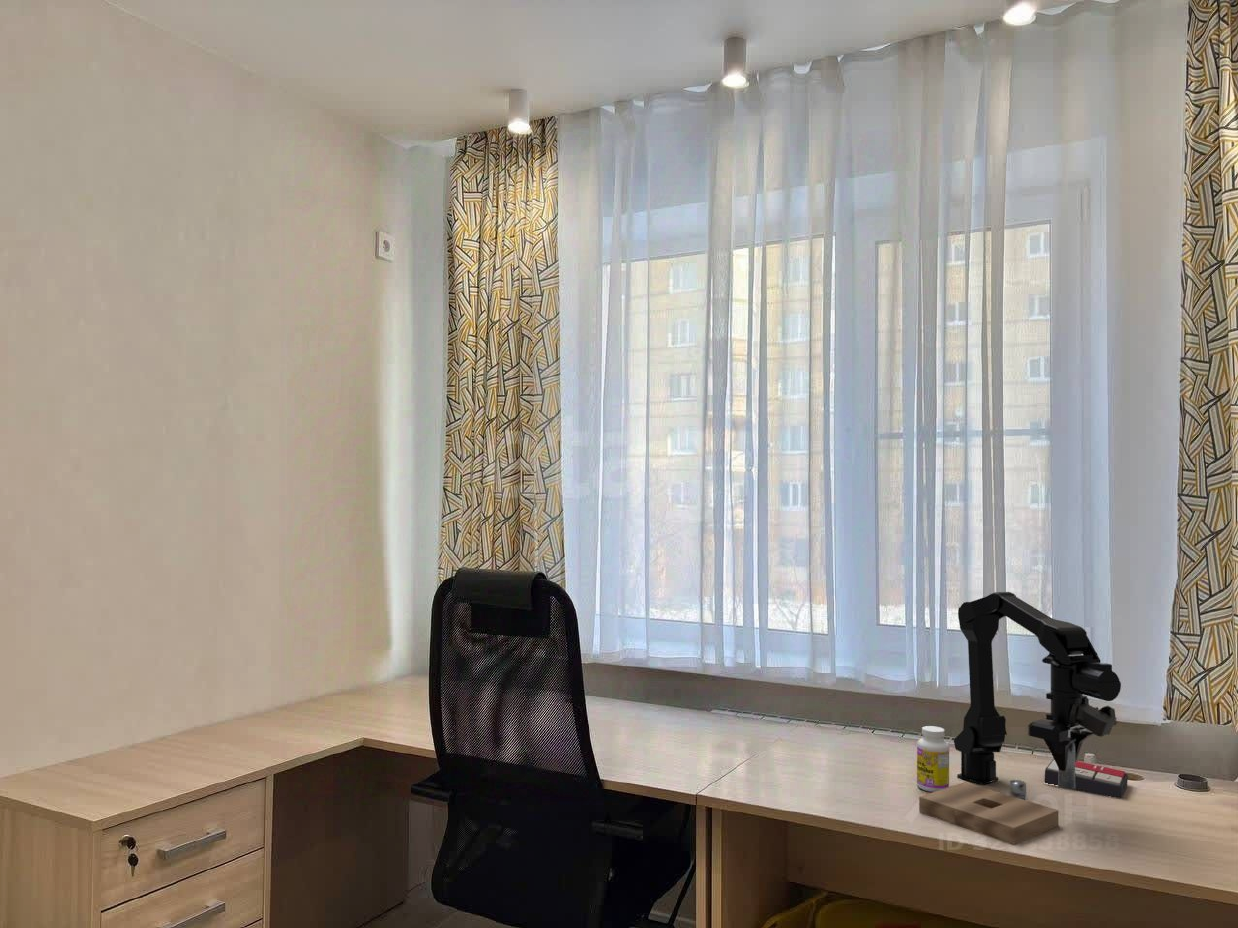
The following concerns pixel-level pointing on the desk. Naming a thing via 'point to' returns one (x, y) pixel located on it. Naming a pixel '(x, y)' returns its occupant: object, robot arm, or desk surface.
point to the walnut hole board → (989, 812)
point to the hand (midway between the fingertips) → (1066, 768)
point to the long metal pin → (1068, 770)
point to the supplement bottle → (932, 760)
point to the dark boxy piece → (1092, 779)
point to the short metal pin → (1018, 789)
